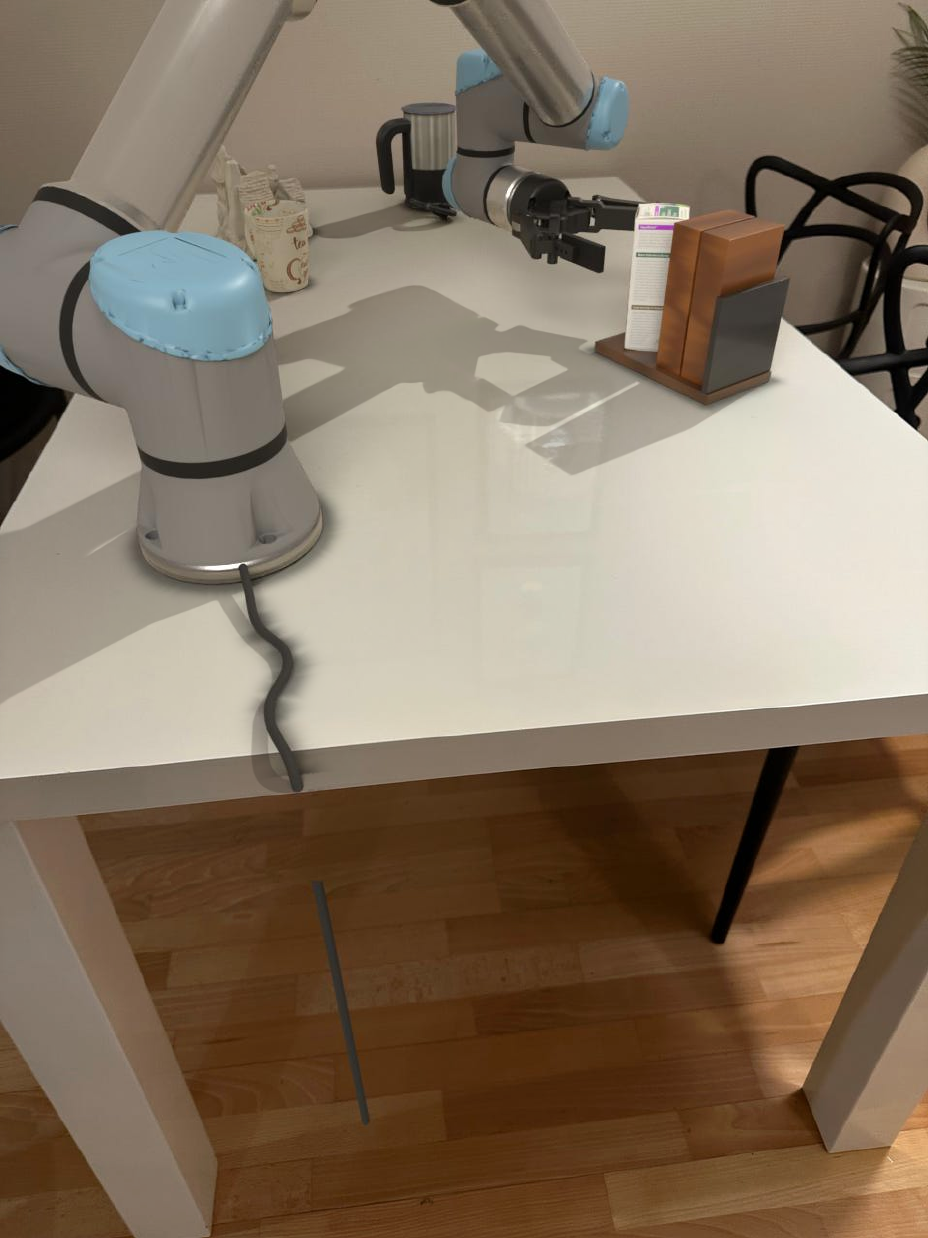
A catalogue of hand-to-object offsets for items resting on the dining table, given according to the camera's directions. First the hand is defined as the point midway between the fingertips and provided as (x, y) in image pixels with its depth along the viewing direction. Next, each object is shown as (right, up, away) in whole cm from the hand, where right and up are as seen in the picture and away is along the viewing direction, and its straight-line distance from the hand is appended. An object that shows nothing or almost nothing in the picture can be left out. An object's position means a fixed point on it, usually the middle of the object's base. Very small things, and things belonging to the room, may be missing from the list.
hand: (648, 247), depth 99 cm
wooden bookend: (+4, -12, +3) cm, 13 cm away
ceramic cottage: (-51, +18, +41) cm, 68 cm away
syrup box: (+1, -9, +5) cm, 10 cm away
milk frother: (-26, +28, +53) cm, 65 cm away
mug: (-47, +6, +27) cm, 54 cm away
